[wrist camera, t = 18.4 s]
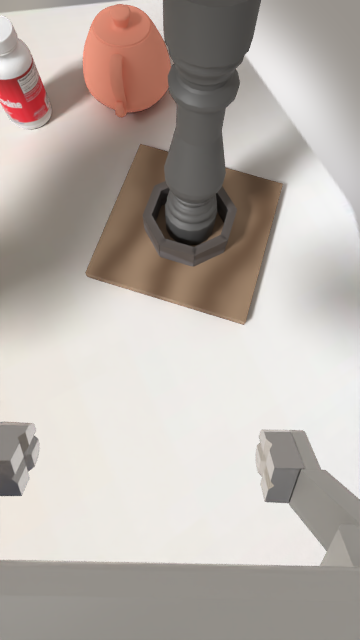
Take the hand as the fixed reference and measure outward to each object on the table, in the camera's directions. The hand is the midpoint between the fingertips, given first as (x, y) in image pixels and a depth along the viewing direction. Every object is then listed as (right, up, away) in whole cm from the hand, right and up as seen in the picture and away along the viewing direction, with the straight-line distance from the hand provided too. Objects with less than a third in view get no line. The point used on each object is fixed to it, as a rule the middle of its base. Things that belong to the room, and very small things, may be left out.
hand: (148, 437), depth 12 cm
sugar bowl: (-6, +38, +37) cm, 53 cm away
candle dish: (+2, +16, +31) cm, 35 cm away
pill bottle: (-20, +34, +36) cm, 53 cm away
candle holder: (+2, +16, +30) cm, 34 cm away
